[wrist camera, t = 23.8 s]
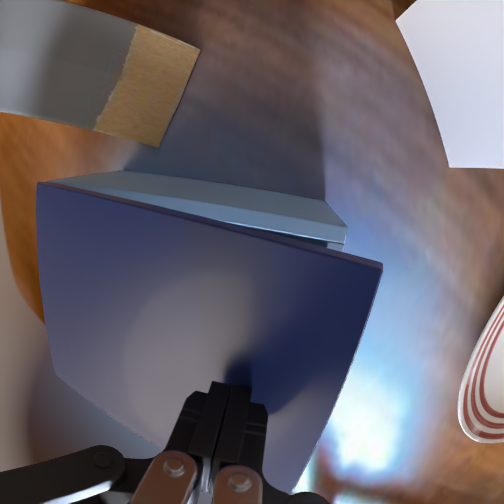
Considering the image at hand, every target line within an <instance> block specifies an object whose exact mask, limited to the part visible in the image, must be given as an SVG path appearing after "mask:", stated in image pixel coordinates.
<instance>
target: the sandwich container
mask: <svg viewBox="0 0 504 504" xmlns="http://www.w3.org/2000/svg"><path fill="white" fill-rule="evenodd" d="M199 52H200V49H198V48H196V47H194V46H192V45H189V44H187V43H185V42H183V41H180V40H178V39H176V38H173V37H171V36H168V35H166V34H163V33H161V32H158V31H156V30H153V29H151V28H148V27H145V26H143V25H140V24H137V23H134V22H132V21H129V20H126V19H123V18H120V17H117V16H114V15H111V14H108V13H105V12H102V11H98V10H95V9H92V8H88V7H85V6H82V5H78V4H75V3H71V2H68V1H64V0H0V112H5V113H10V114H16V115H21V116H27V117H32V118H37V119H42V120H47V121H52V122H56V123H61V124H66V125H70V126H75V127H79V128H83V129H88V130H92V131H96V132H100V133H104V134H108V135H112V136H116V137H120V138H123V139H127V140H131V141H134V142H138V143H142V144H145V145H149V146H152V147H156V148H159V146H160V143H161V141H162V139H163V136H164V134H165V132H166V130H167V127H168V125H169V123H170V121H171V118H172V116H173V114H174V112H175V110H176V108H177V106H178V104H179V101H180V99H181V97H182V94H183V92H184V89H185V87H186V84H187V81H188V79H189V76H190V74H191V71H192V69H193V67H194V64H195V62H196V59H197V57H198V55H199Z"/></svg>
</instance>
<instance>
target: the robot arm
mask: <svg viewBox="0 0 504 504" xmlns="http://www.w3.org/2000/svg"><path fill="white" fill-rule="evenodd" d="M231 387H232V385H231V384H226V383H221V382H217V381H212V383H211V386H210V388H209V391H208V393H204V392H200V391H194V392H193V393H192V394H191V395H190V396H188V397H187V398H186V400H185V403H184V405H183V407H182V410H181V412H180V414H179V417H178V419H177V421H176V424H175V426H174V428H173V431H172V433H171V435H170V438H169V440H168V443H167V445H166V447H165V449H164V450H163V452H161V453H159V454H158V455H157V456H155V457H153V458H149V459H131V458H124V457H123V455H122V454H121V453H120V452H119V451H118V450H116V449H115V448H113V447H109V446H105V445H98V446H94V447H90V448H87V449H84V450H81V451H78V452H75V453H71V454H69V455H65V456H62V457H58V458H55V459H51V460H48V461H44V462H41V463H37V464H33V465H29V466H25V467H21V468H16V469H12V470H8V471H3V472H0V504H197V501H198V497H199V494H200V491H201V492H206V493H207V490H208V486H209V483H210V488H209V493H211V494H213V497H212V503H211V504H330V503H329V502H328V501H327V500H326V499H324V498H323V497H322V496H320V495H318V494H316V493H312V492H300V493H296V494H294V495H291V494H288V493H286V492H283V491H280V490H278V489H276V488H274V487H273V486H271V485H270V484H269V483H268V482H267V481H266V479H265V478H264V475H263V471H262V467H263V459H264V450H265V442H266V433H267V424H268V413H267V410H266V408H265V406H264V404H259V403H253V402H250V399H251V394H252V388H246V387H241V386H236V385H233V387H232V391H231ZM230 393H231V395H230ZM210 479H211V482H210Z"/></svg>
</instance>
